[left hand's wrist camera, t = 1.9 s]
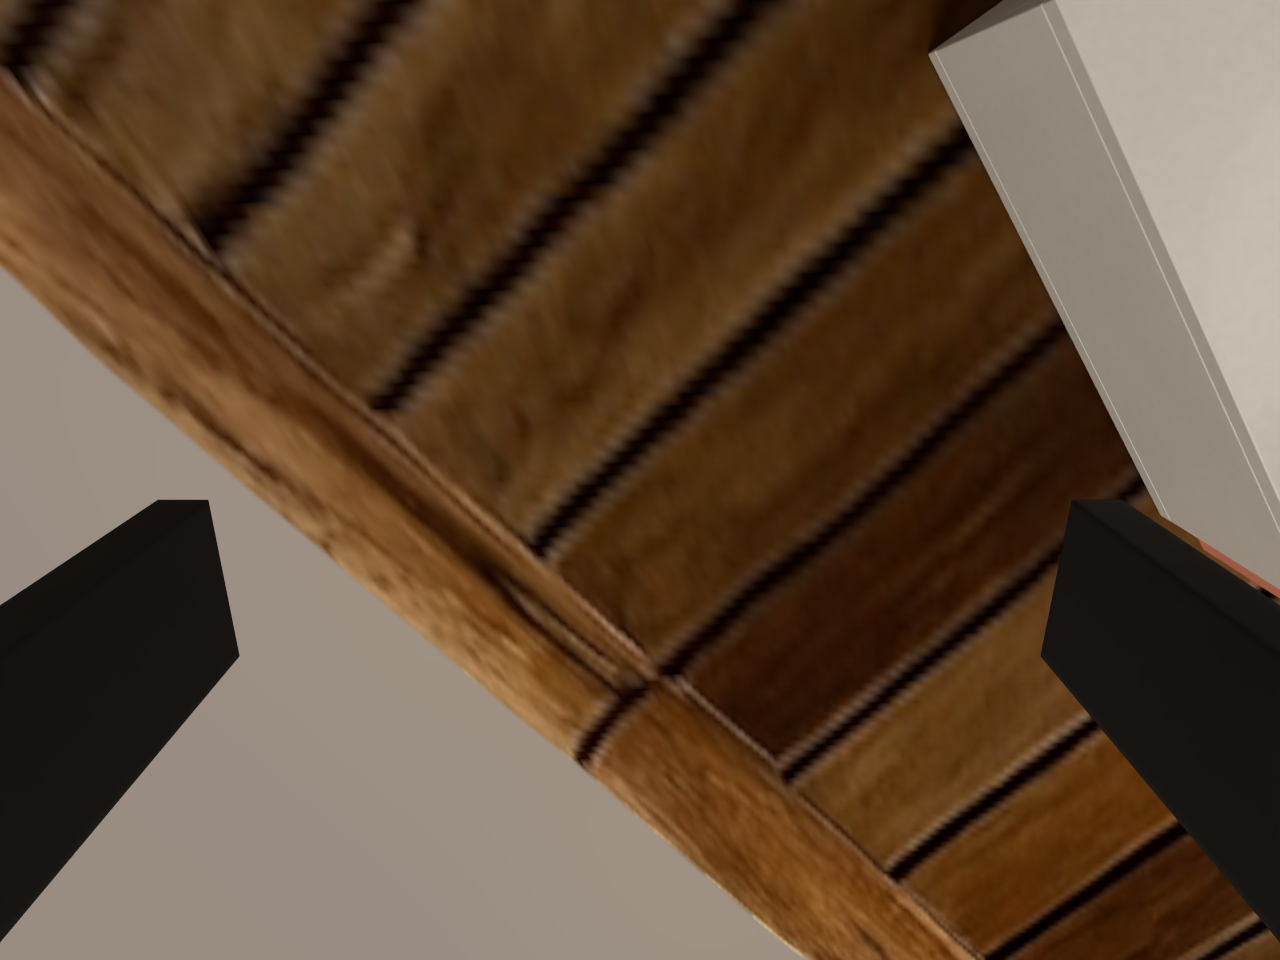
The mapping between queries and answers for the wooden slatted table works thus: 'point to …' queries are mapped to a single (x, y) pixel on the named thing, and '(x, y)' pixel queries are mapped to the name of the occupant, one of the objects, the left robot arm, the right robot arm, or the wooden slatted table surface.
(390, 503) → the wooden slatted table surface
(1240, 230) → the cabinet
